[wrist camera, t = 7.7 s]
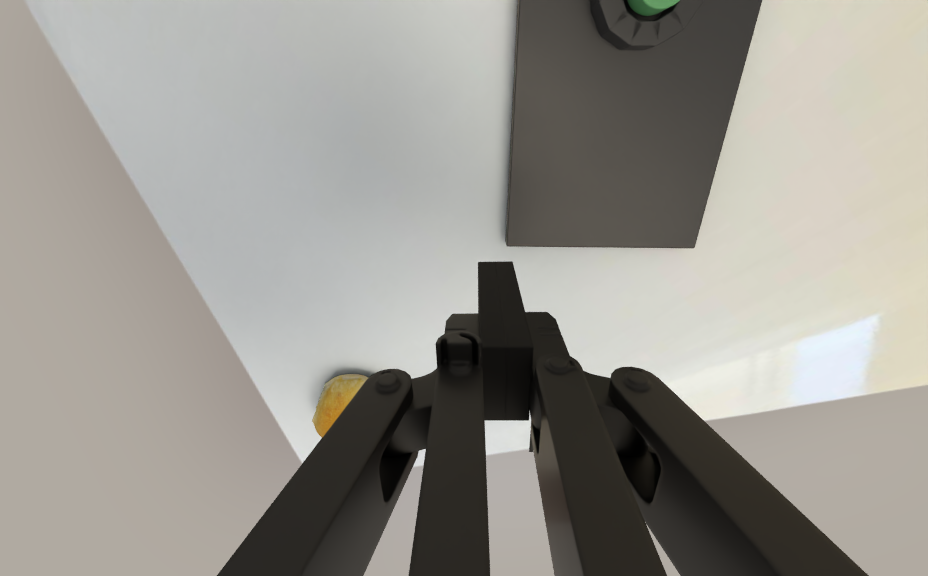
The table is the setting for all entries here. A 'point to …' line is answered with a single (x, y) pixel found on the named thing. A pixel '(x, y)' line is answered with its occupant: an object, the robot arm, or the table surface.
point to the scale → (620, 119)
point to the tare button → (650, 6)
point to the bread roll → (335, 400)
